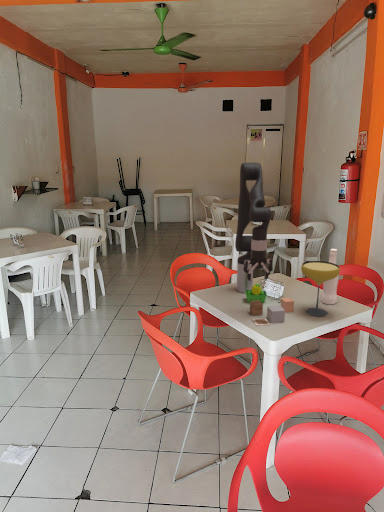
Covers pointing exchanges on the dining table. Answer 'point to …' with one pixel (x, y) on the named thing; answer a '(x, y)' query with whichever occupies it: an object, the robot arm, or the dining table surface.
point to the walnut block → (256, 308)
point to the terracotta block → (287, 304)
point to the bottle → (330, 283)
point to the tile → (261, 322)
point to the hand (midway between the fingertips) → (257, 279)
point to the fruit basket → (256, 294)
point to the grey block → (275, 314)
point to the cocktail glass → (319, 279)
